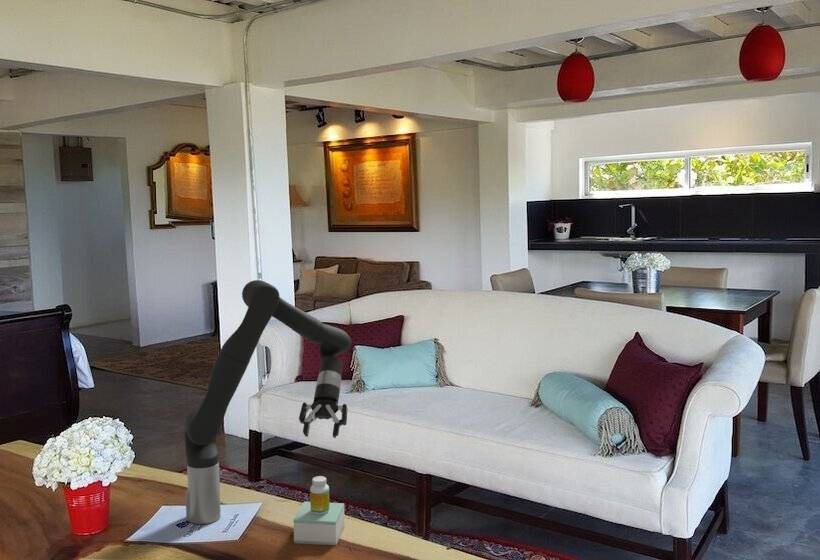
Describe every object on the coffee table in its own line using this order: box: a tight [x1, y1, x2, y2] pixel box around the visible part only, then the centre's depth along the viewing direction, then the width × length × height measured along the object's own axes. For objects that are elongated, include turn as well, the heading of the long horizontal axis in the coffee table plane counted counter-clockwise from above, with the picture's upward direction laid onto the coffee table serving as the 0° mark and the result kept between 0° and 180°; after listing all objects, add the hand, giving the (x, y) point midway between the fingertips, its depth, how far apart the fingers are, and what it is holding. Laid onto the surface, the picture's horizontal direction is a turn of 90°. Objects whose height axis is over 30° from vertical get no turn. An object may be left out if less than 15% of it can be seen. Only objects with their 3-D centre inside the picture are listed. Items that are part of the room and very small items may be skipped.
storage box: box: [293, 507, 345, 546], centre depth 217 cm, size 12×12×6 cm
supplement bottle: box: [309, 475, 330, 515], centre depth 216 cm, size 5×5×10 cm
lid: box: [293, 501, 345, 525], centre depth 216 cm, size 12×12×1 cm
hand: (320, 436), depth 225 cm, fingers open, 8 cm apart
